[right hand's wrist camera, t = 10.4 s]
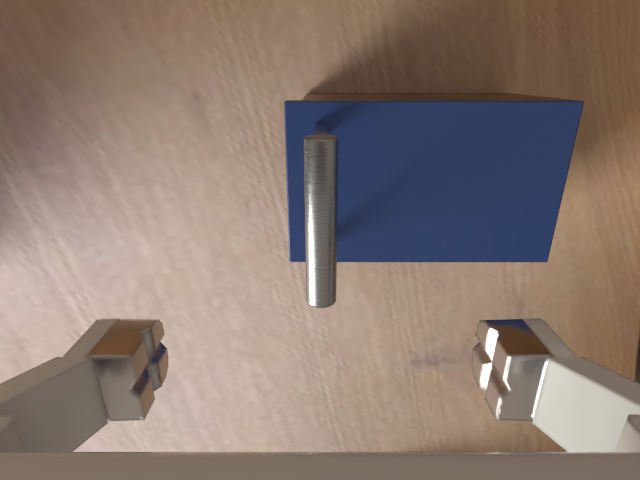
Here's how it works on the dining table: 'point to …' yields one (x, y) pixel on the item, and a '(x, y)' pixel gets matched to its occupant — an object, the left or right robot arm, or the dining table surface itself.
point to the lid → (423, 182)
